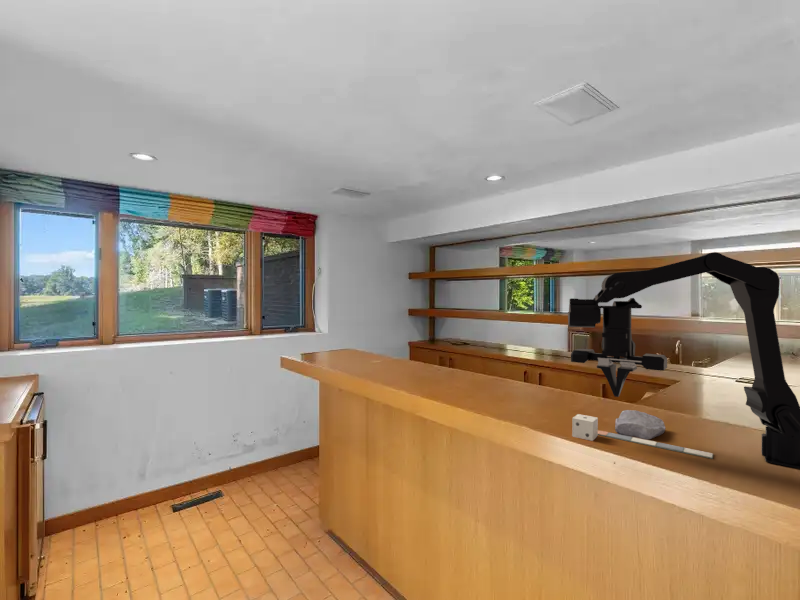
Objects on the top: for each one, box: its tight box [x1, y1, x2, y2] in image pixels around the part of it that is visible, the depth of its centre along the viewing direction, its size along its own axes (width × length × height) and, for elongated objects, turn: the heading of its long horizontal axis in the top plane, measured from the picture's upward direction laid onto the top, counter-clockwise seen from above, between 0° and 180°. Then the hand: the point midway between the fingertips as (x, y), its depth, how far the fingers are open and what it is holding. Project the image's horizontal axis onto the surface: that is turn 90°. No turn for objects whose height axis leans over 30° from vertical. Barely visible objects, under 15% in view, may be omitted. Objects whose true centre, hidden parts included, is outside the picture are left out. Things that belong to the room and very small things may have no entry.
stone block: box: [614, 409, 666, 441], centre depth 99 cm, size 12×5×10 cm
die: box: [571, 413, 599, 442], centre depth 95 cm, size 4×4×4 cm
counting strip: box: [598, 429, 714, 460], centre depth 91 cm, size 25×3×1 cm, turn 50°
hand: (616, 396), depth 91 cm, fingers closed
